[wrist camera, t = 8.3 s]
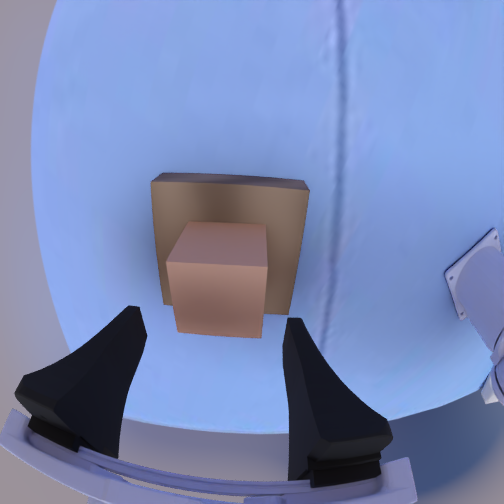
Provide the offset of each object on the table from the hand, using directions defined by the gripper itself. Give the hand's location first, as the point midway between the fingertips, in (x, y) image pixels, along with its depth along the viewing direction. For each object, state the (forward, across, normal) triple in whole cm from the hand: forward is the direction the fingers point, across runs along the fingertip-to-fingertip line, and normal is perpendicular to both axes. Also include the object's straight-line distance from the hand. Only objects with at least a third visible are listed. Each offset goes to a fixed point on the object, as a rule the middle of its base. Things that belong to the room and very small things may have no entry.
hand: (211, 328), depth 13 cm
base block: (+10, 0, 0) cm, 10 cm away
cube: (+7, 0, 0) cm, 7 cm away
